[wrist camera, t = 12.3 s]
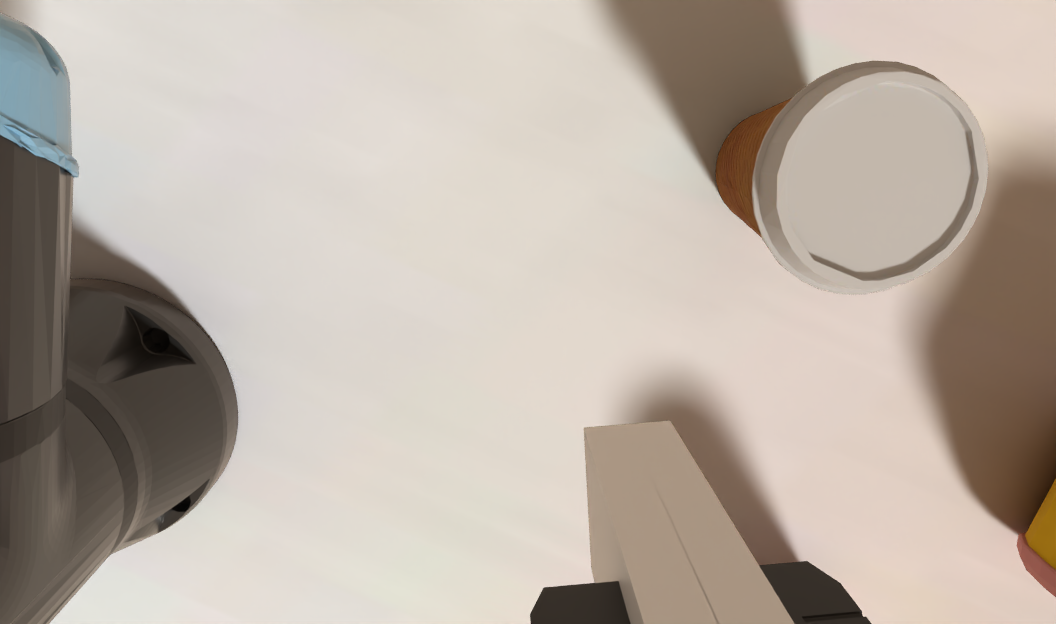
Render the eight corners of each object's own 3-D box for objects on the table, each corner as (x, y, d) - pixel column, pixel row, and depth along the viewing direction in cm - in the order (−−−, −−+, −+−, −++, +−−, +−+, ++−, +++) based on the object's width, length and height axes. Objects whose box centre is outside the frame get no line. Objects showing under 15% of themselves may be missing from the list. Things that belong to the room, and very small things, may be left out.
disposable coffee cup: (652, 154, 40) (717, 164, 29) (796, 41, 39) (924, 4, 27) (748, 287, 42) (844, 346, 31) (887, 183, 41) (1042, 204, 30)
